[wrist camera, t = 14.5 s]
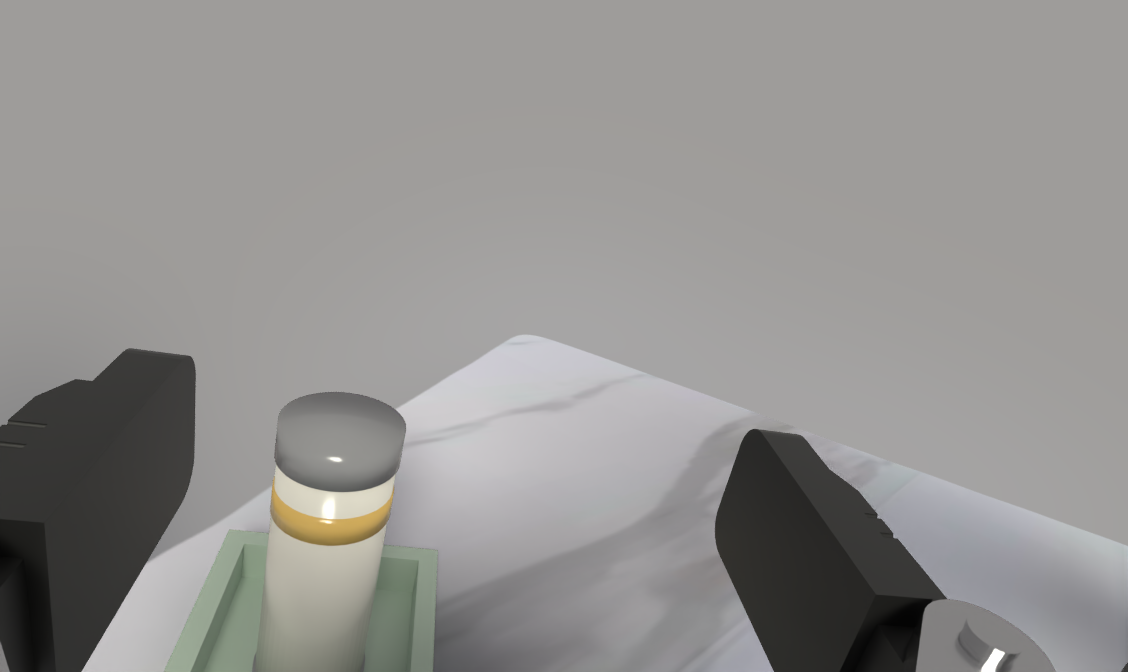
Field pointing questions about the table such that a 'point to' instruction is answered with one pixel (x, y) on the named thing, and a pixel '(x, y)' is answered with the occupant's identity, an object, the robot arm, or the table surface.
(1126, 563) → the table surface
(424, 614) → the tray
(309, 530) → the cylinder
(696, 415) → the table surface
